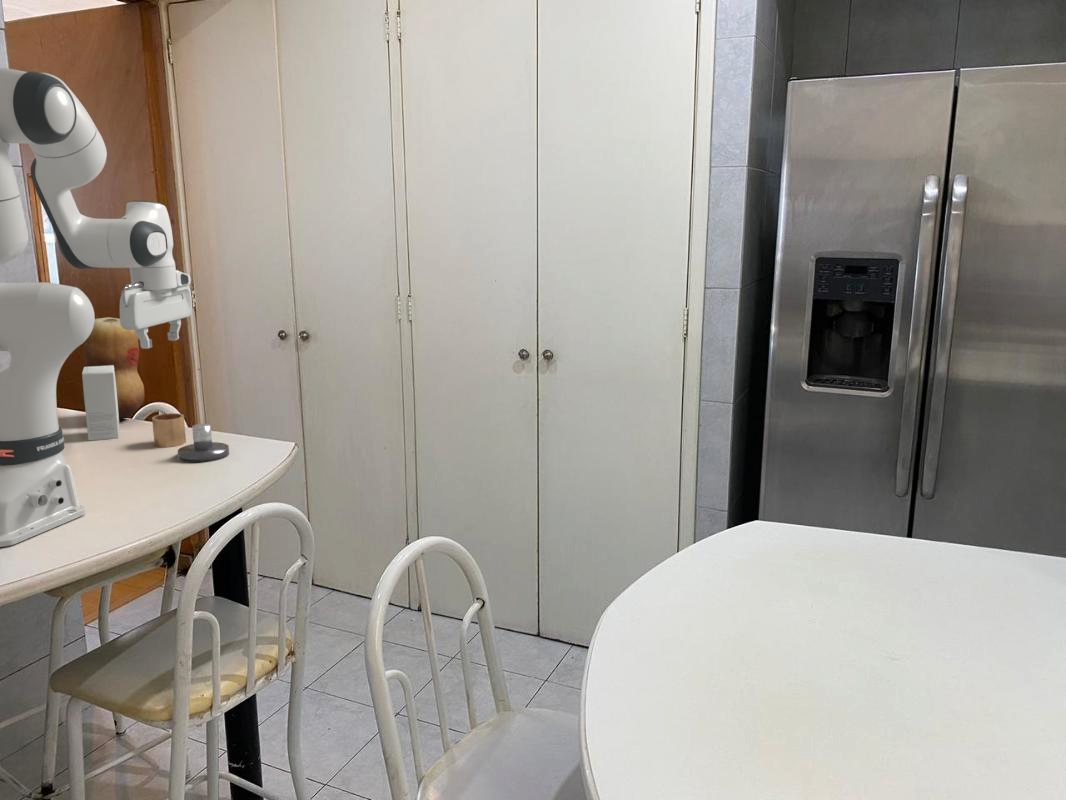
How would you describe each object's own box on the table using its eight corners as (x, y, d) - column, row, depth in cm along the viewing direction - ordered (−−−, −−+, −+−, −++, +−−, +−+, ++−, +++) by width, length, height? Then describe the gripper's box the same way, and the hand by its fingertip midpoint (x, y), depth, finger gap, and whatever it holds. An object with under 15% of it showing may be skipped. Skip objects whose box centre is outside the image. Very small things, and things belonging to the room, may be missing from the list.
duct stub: (215, 463, 168) (212, 432, 166) (168, 461, 169) (165, 431, 167) (237, 449, 178) (235, 420, 176) (193, 448, 179) (191, 419, 177)
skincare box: (90, 432, 190) (82, 366, 187) (121, 429, 193) (114, 364, 189) (88, 441, 183) (80, 373, 179) (121, 438, 186) (113, 370, 182)
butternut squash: (128, 427, 195) (118, 322, 189) (74, 426, 196) (61, 321, 190) (157, 413, 209) (148, 315, 203) (106, 412, 209) (95, 314, 204)
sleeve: (176, 447, 179) (174, 420, 177) (148, 446, 179) (146, 419, 178) (191, 439, 185) (189, 413, 184) (164, 438, 186) (162, 412, 184)
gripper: (136, 285, 163) (143, 354, 166) (194, 275, 182) (200, 336, 186) (107, 284, 164) (115, 352, 167) (169, 274, 183) (174, 335, 187)
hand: (160, 344), depth 177 cm, fingers open, 8 cm apart
